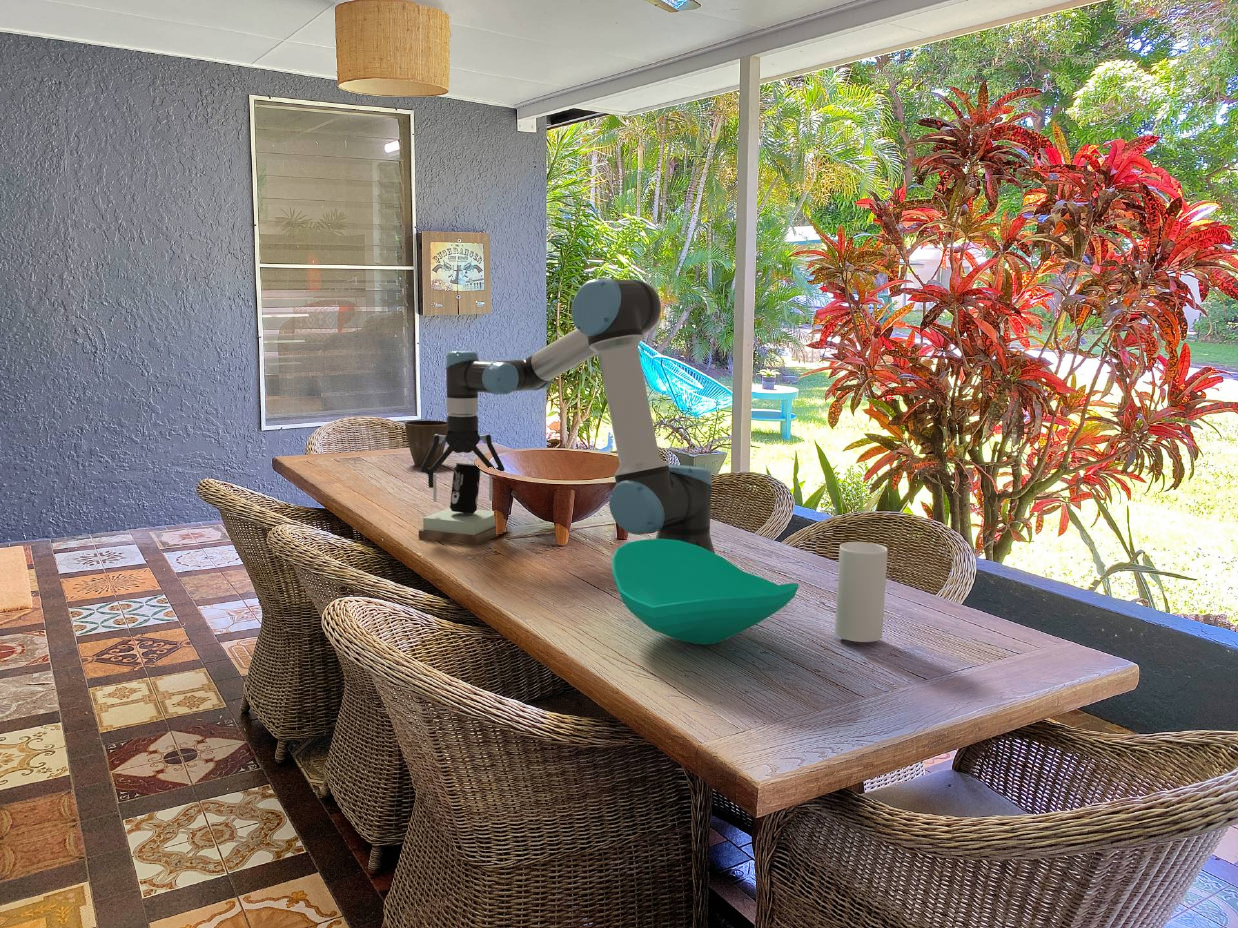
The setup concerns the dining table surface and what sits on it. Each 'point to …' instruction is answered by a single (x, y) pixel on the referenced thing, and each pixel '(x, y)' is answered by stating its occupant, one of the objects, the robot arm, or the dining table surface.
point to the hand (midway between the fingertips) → (463, 500)
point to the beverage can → (465, 488)
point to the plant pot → (425, 439)
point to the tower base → (459, 536)
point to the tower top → (460, 522)
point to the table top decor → (693, 591)
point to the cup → (861, 591)
